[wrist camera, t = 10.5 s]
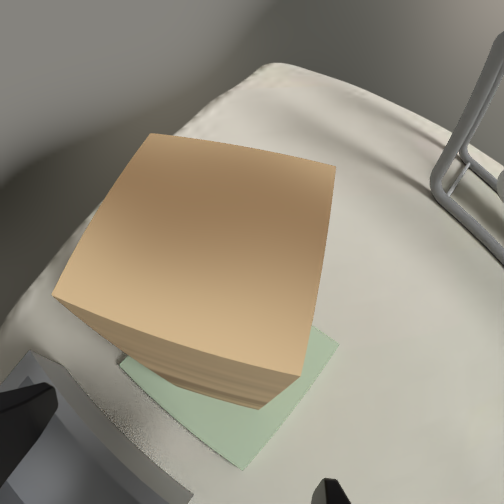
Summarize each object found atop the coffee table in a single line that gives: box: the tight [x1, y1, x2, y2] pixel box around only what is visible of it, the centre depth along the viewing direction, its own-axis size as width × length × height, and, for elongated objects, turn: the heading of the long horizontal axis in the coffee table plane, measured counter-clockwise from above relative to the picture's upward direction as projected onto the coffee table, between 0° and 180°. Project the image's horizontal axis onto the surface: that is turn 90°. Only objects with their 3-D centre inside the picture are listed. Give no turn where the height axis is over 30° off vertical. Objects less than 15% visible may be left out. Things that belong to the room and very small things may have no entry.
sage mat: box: [119, 326, 340, 471], centre depth 17 cm, size 9×9×1 cm
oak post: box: [52, 133, 336, 410], centre depth 11 cm, size 5×5×12 cm
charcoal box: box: [0, 350, 194, 504], centre depth 10 cm, size 11×11×4 cm
